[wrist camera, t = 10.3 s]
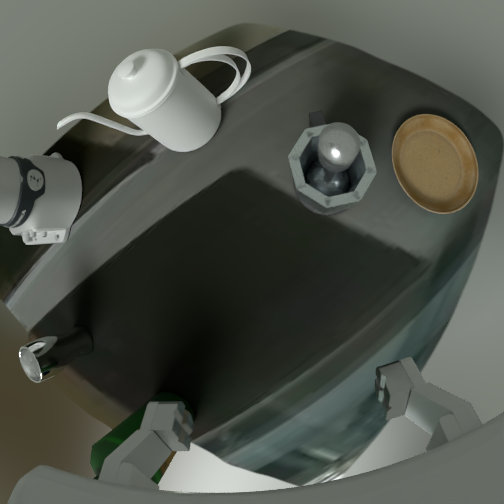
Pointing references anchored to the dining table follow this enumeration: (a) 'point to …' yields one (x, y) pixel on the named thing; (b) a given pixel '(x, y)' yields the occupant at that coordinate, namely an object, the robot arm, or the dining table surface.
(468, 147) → the plant saucer
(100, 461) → the bottle
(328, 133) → the dumbbell
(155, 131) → the coffeepot
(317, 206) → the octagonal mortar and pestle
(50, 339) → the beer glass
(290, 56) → the dining table surface
